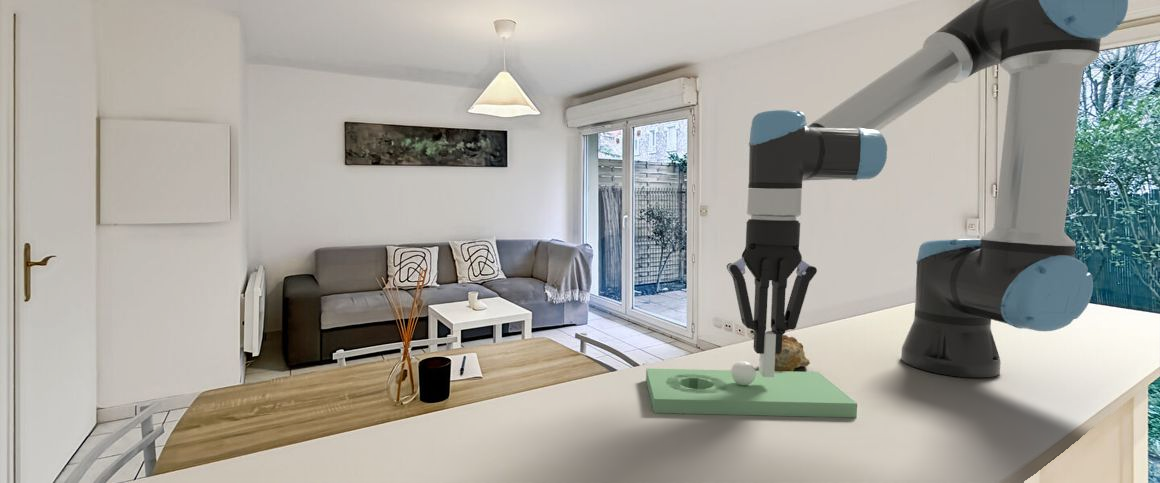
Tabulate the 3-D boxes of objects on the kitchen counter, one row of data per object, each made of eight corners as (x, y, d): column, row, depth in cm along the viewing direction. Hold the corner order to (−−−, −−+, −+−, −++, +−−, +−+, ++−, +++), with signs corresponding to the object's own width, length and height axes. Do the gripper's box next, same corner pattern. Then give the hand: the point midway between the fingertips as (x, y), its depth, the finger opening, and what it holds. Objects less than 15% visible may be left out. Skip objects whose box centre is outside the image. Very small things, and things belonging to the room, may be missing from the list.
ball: (731, 383, 88) (754, 378, 88) (736, 390, 85) (760, 385, 84) (726, 360, 88) (749, 355, 88) (732, 367, 84) (756, 362, 84)
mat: (818, 384, 93) (818, 372, 93) (856, 417, 79) (857, 403, 79) (646, 380, 94) (646, 368, 94) (654, 412, 80) (654, 398, 80)
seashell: (817, 393, 98) (818, 350, 93) (769, 398, 99) (767, 356, 94) (802, 355, 106) (802, 314, 101) (758, 360, 107) (755, 319, 102)
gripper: (808, 217, 88) (801, 368, 90) (723, 216, 88) (717, 365, 90) (828, 220, 80) (819, 383, 82) (734, 218, 81) (728, 381, 83)
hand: (766, 374), depth 86 cm, fingers closed
